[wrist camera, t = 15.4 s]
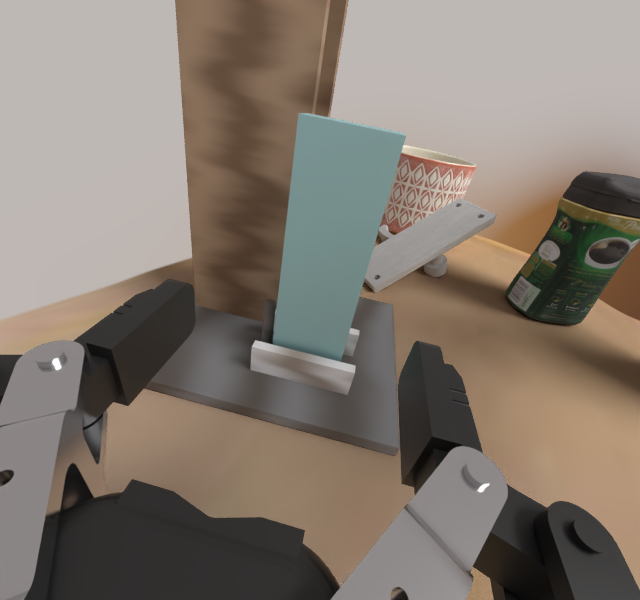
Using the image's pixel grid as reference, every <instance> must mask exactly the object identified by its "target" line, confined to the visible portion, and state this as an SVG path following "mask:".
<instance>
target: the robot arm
mask: <svg viewBox="0 0 640 600" xmlns="http://www.w3.org/2000/svg"><path fill="white" fill-rule="evenodd" d="M195 322H196V315H195V302H194V290H193V287H192V285H191V284H188V283H184V282H180V281H176V280H172V279H168V280H166V281H165V282H163V283H162V284H161V285H159V286H158V287H157V288H156V289H154V290H153V289H150V290H147V291H145V292H142V293H140V294H137V295H135V296H134V297H132V298H131V299H130V300H128V301H127V302H125V303H124V305H123V306H120V307H119V308H117V309H116V310H115V311H114V313H111V314H109V315H108V316H107V317H105V318H104V319H102V320H101V321H100V322H98V323H97V324H96V325H94V326H93V327H92V328H90V329H89V330H88V331H86V332H85V333H84V334H82V335H81V336H79V337H78V338H77V339H75V340H74V341H67V340H63V341H54V342H49V343H45V344H42V345H40V346H37V347H35V348H33V349H31V350H29V351H28V352H26V353H25V354H24V355H0V600H465V599H466V597H467V595H468V593H469V591H470V588H471V586H472V583H473V575H472V574H471V569H472V567H474V568H476V569H477V570H479V571H480V572H482V573H483V574H484V575H486V576H487V577H489V578H490V580H491V586H492V592H493V597H494V600H640V590H639V588H638V586H637V584H636V582H635V580H634V578H633V576H632V574H631V571H630V569H629V567H628V565H627V563H626V561H625V559H624V557H623V555H622V553H621V551H620V549H619V547H618V545H617V543H616V542H615V540H614V539H613V537H612V536H611V535H610V533H609V532H608V531H607V530H606V529H605V527H604V526H603V525H602V524H601V523H600V522H599V521H598V520H597V519H595V518H594V517H593V516H592V515H591V514H589V513H588V512H587V511H585V510H584V509H582V508H580V507H578V506H576V505H574V504H572V503H569V502H565V501H558V502H555V503H553V504H551V505H550V506H549V507H547V508H546V507H544V506H543V505H541V504H539V503H537V502H536V501H534V500H532V499H531V498H529V497H527V496H525V495H524V494H522V493H520V492H518V491H517V490H515V489H513V488H512V487H510V486H509V485H508V484H506V481H505V478H504V476H503V474H502V473H501V471H500V470H499V468H498V467H497V466H496V465H495V463H494V462H493V461H492V460H491V459H489V458H488V457H487V456H486V455H484V454H483V451H482V448H481V444H480V441H479V437H478V434H477V430H476V427H475V423H474V419H473V416H472V412H471V409H470V407H469V401H468V398H467V395H466V391H465V387H464V384H463V380H462V378H461V376H460V375H459V374H458V372H457V371H456V369H455V368H454V367H453V365H449V364H445V363H444V361H443V356H442V352H441V348H440V347H439V346H436V345H432V344H428V343H424V342H420V341H416V342H415V343H414V345H413V347H412V349H411V352H410V354H409V356H408V358H407V361H406V363H405V365H404V367H403V369H402V372H401V375H400V378H399V384H398V401H399V426H400V451H401V476H402V484H405V485H408V486H412V487H414V492H415V496H414V497H413V499H412V500H411V501H410V502H409V503H408V505H406V506H405V507H404V509H403V510H402V511H401V512H400V514H399V515H398V516H397V517H396V519H395V520H394V521H393V522H392V524H391V525H390V526H389V527H388V529H387V530H386V531H385V532H384V534H383V535H382V536H381V537H380V539H379V540H378V541H377V542H376V544H375V545H374V546H373V547H372V549H371V550H370V551H369V552H368V554H367V555H366V556H365V557H364V559H363V560H362V561H361V562H360V564H359V565H358V566H357V567H356V569H355V570H354V571H353V572H352V574H351V575H350V576H349V577H348V579H347V580H346V581H345V582H344V584H343V585H342V586H341V587H340V586H339V584H338V582H337V580H336V579H335V577H334V576H333V574H332V573H331V571H330V570H329V568H328V567H327V566H326V565H325V563H324V562H323V561H322V560H321V559H320V557H318V556H317V555H316V554H315V553H314V552H313V551H312V550H311V549H309V548H308V547H307V546H305V545H304V544H302V542H303V537H304V532H305V530H302V529H299V528H295V527H292V526H288V525H285V524H282V523H278V522H275V521H272V520H268V519H265V518H261V517H256V518H212V517H209V516H207V515H206V514H204V513H203V512H201V511H200V510H199V509H197V508H196V507H194V506H193V505H192V504H190V503H189V502H187V501H186V500H185V499H183V498H182V497H180V496H179V495H178V494H176V493H175V492H173V491H170V490H167V489H163V488H160V487H157V486H153V485H150V484H147V483H143V482H140V481H136V480H133V479H132V480H131V482H130V483H129V485H128V486H127V487H126V489H125V490H124V492H120V493H113V494H107V488H106V482H105V475H104V466H105V450H106V433H107V417H108V415H107V411H106V409H107V408H108V407H109V406H110V405H111V404H112V403H113V402H116V403H119V404H123V405H127V406H129V405H130V403H131V402H132V401H133V400H134V399H135V398H136V397H137V395H138V394H139V393H140V392H141V391H142V390H143V389H144V387H145V386H146V385H147V384H148V383H149V382H150V381H151V379H152V378H153V377H154V376H155V375H156V374H157V373H158V371H159V370H160V369H161V368H162V367H163V366H164V364H165V363H166V362H167V361H168V360H169V359H170V358H171V356H172V355H173V354H174V353H175V352H176V351H177V350H178V348H179V347H180V346H181V345H182V344H183V343H184V342H185V340H186V339H187V338H188V337H189V336H190V335H191V333H192V331H193V329H194V326H195Z"/></svg>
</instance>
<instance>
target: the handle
mask: <svg viewBox="0 0 640 600" xmlns="http://www.w3.org/2000/svg"><path fill="white" fill-rule="evenodd" d="M495 219H496V214H494V213H492V212H489V211H487V210H485V209H483V208H481V207H478V206H476V205H474V204H472V203H470V202H468V201H466V200H463V199H461V198H458V199H457V200H455V201H453V202H451V203H450V204H448V205H446V206H444V207H443V208H441V209H439V210H438V211H436V212H434V213H432V214H431V215H429V216H427V217H425V218H424V219H422V220H420V221H418V222H417V223H415V224H413V225H412V226H410V227H408V228H406V229H405V230H403V231H401V232H399V233H398V234H396V235H393V234H391V233H390V232H389V230H388V226H387V225H382V226H381V227H380V228H379V231H378V232H379V237H380V239H381V241H383V242H382V243H380V244H379V245H377V246H375V247H374V248H373V252H372V255H371V259H370V262H369V266H368V269H367V272H366V276H365V279H364V282H365V283H366V284H367V285H368V286H369V287H370V288H371V289H372V290H373V291H374V292H379V291H381V290H383V289H384V288H386V287H388V286H389V285H391V284H393V283H394V282H396V281H398V280H399V279H401V278H403V277H404V276H406V275H408V274H409V273H411V272H413V271H415V270H416V269H418V268H420V267H421V266H423V265H424V272H425V273H426V274H428V275H430V276H432V277H440V276H442V275H444V274H445V273H446V270H447V259H446V257H445V256H444V255H443V253H445V252H446V251H448V250H450V249H451V248H453V247H455V246H456V245H458V244H460V243H462V242H463V241H465V240H467V239H468V238H470V237H472V236H473V235H475V234H476V233H478V232H480V231H482V230H483V229H485V228H487V227H488V226H490V225H492V224H493V223H494V221H495Z"/></svg>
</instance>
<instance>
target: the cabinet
mask: <svg viewBox="0 0 640 600" xmlns="http://www.w3.org/2000/svg"><path fill="white" fill-rule="evenodd" d="M175 4H176V19H177V33H178V48H179V61H180V62H179V63H180V77H181V93H182V108H183V121H184V122H183V123H184V138H185V153H186V166H187V182H188V197H189V211H190V227H191V242H192V257H193V272H194V287H195V295H194V302H195V315H196V322H195V326H194V329H193V331H192V333H191V335H190V336H189V337H188V338H187V339H186V340H185V342H184V343H183V344H182V345H181V346H180V347H179V348H178V350H177V351H176V352H175V353H174V354H173V355H172V356H171V358H170V359H169V360H168V361H167V362H166V363H165V364H164V366H163V367H162V368H161V369H160V370H159V371H158V373H157V374H156V375H155V376H154V377H153V378H152V379H151V381H150V382H149V383H148V384H147V385H146V386H145V387H144V388H146V389H150V390H153V391H157V392H161V393H164V394H168V395H172V396H175V397H179V398H183V399H186V400H190V401H194V402H198V403H201V404H205V405H209V406H212V407H216V408H220V409H223V410H227V411H231V412H234V413H238V414H242V415H246V416H249V417H253V418H257V419H260V420H264V421H268V422H271V423H275V424H279V425H282V426H286V427H290V428H293V429H297V430H301V431H305V432H308V433H312V434H316V435H319V436H323V437H327V438H330V439H334V440H338V441H341V442H345V443H349V444H353V445H356V446H360V447H364V448H367V449H371V450H375V451H378V452H382V453H386V454H389V455H393V456H395V455H396V453H397V451H398V450H399V430H398V409H397V387H396V365H395V344H394V322H393V305H391V304H387V303H383V302H379V301H374V300H370V299H366V298H362V297H359V300H358V304H357V307H356V310H355V314H354V317H353V321H352V324H351V328H350V331H349V335H348V338H347V342H346V345H345V348H344V352H343V355H342V359H341V362H339V361H335V360H331V359H327V358H323V357H320V356H316V355H312V354H308V353H304V352H300V351H296V350H292V349H288V348H284V347H280V346H277V345H273V336H274V327H275V319H276V310H277V301H278V292H279V283H280V274H281V265H282V256H283V247H284V239H285V230H286V221H287V212H288V203H289V194H290V185H291V176H292V167H293V159H294V150H295V141H296V132H297V123H298V114H299V113H310V114H315V115H320V116H324V117H329V118H330V111H331V105H332V98H333V93H334V87H335V80H336V74H337V68H338V62H339V56H340V49H341V44H342V37H343V31H344V25H345V19H346V13H347V7H348V0H175Z"/></svg>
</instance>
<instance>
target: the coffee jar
mask: <svg viewBox="0 0 640 600" xmlns="http://www.w3.org/2000/svg"><path fill="white" fill-rule="evenodd" d="M639 241H640V179H638V178H634V177H630V176H625V175H617V174H610V173H599V172H583V173H581V174H580V175H578V176H577V177H576V178H575V179H574V180H573V181H572V183H571V185H570V186H569V188H568V189H567V190H566V192H565V193H564V195H563V197H561V199H560V201H559V204H558V209H557V213H556V217H555V219H554V221H553V223H552V225H551V226H550V228H549V230H548V231H547V233H546V235H545V236H544V238H543V239H542V241H541V242H540V244H539V245H538V246H537V248H536V249H535V251H534V252H533V254H532V255H531V256H530V258H529V259H528V260H527V262H526V263H525V265H524V266H523V267H522V268H521V270H520V271H519V272H518V274H517V275H516V277H515V278H514V279H513V281H512V282H511V284H510V286H509V287H508V289H507V290H506V296H507V299H508V301H509V302H510V303H511V305H512V306H513V307H514V308H515V309H517V310H519V311H521V312H522V313H524V314H526V315H527V316H528V317H530V318H533V319H536V320H540V321H545V322H551V323H558V324H566V325H576V324H579V323H581V322H582V321H583V319H584V318H585V317H586V315H587V314H588V313H589V311H590V310H591V308H592V307H593V305H594V304H595V302H596V301H597V299H598V298H599V296H600V294H601V293H602V291H603V290H604V288H605V287H606V285H607V284H608V282H609V281H610V279H611V278H612V276H613V275H614V274H615V272H616V271H617V269H618V268H619V266H620V265H621V264H622V262H623V261H624V259H625V258H626V257H627V255H628V254H629V253H630V252H631V250H632V249H633V248H634V246H636V245H637V243H638V242H639Z"/></svg>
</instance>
